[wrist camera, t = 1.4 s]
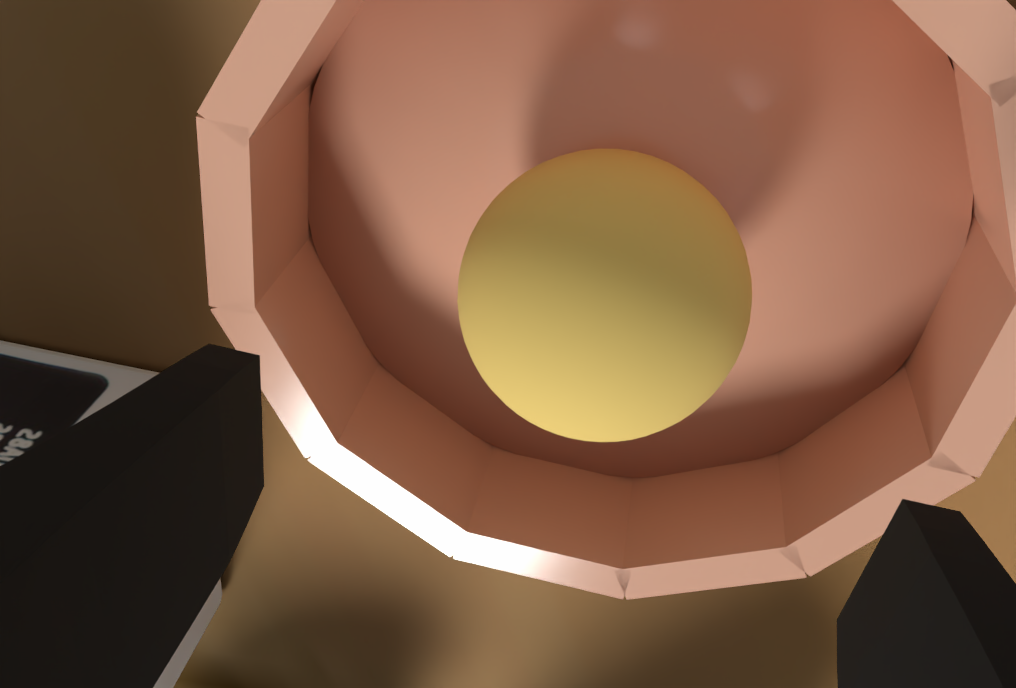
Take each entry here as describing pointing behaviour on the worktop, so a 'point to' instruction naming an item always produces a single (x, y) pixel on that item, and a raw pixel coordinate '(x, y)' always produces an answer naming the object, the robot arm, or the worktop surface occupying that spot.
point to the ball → (604, 295)
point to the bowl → (708, 159)
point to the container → (59, 405)
